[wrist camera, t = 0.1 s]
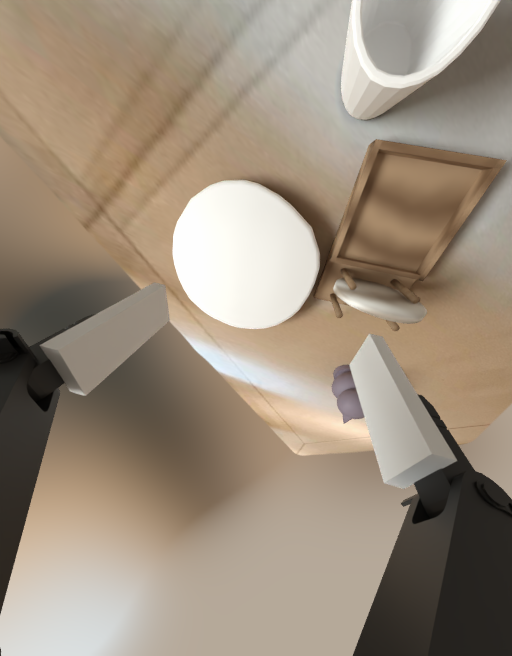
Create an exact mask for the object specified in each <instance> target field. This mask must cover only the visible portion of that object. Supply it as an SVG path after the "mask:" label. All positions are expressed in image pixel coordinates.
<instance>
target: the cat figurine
mask: <svg viewBox="0 0 512 656" xmlns="http://www.w3.org/2000/svg"><path fill="white" fill-rule="evenodd" d="M333 375H334V381H333V384H332V392H333V394H334V395H335V397H336V398H337V406H338V409H339V410H340V411H341V413H342V414H343V422H344V423H346V422H348V421H349V420H351V419H361V418H364V413H363V410H362V407H361V403H360V400H359V397H358V393H357V390H356V386H355V383H354V380H353V376H352V373H351V370H350V366H349V365H342V366H339V367H337V368H336V369H335V370H334V373H333Z"/></svg>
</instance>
